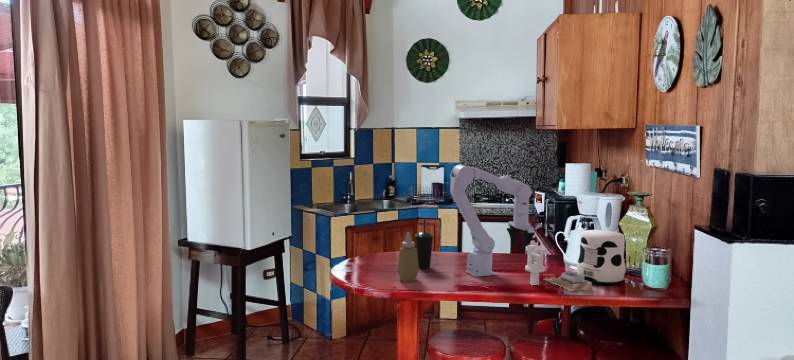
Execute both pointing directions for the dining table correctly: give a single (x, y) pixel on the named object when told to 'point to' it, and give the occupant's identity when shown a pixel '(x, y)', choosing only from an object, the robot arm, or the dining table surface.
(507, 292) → the dining table surface
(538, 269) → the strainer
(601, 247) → the milk container
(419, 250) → the drinking cup
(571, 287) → the dock
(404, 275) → the squeeze bottle
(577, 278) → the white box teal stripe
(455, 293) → the dining table surface
